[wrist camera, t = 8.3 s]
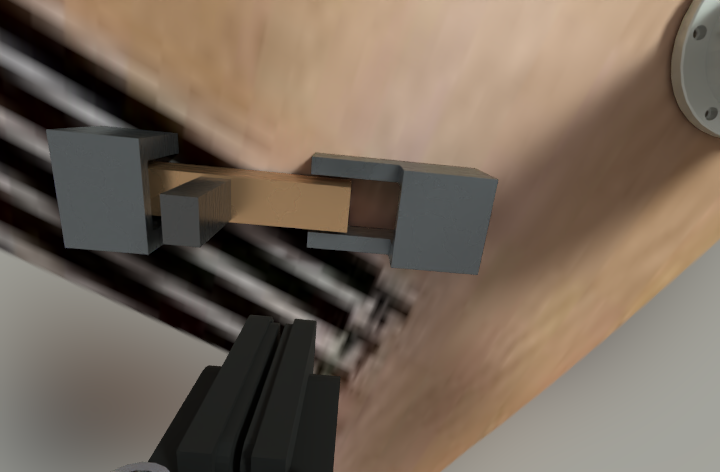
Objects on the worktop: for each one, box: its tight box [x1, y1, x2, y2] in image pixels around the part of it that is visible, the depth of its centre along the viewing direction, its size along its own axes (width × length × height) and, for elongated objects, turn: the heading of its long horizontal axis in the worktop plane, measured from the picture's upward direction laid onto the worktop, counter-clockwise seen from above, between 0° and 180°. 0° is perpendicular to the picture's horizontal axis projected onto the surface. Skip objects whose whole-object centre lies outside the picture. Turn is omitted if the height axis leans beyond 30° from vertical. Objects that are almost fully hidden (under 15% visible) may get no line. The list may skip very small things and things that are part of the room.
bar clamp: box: [46, 126, 498, 275], centre depth 26 cm, size 27×7×5 cm, turn 84°
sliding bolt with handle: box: [147, 160, 351, 247], centre depth 24 cm, size 16×3×8 cm, turn 84°
